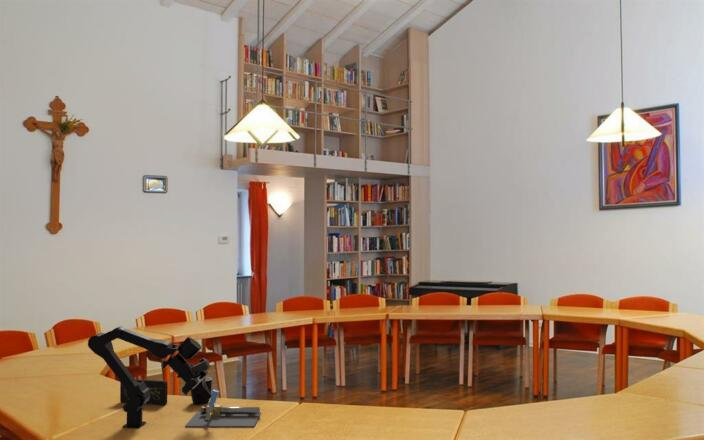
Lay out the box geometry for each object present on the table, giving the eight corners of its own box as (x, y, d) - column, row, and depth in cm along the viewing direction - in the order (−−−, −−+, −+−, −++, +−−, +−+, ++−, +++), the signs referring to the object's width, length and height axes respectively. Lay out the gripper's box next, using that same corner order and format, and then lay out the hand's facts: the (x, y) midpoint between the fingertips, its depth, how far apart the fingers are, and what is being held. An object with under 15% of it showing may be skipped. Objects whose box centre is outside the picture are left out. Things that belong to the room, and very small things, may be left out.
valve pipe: (195, 423, 235) (195, 412, 236) (202, 414, 247) (202, 404, 247) (255, 423, 236) (255, 412, 236) (260, 414, 247) (260, 404, 247)
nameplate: (167, 404, 264) (167, 380, 264) (165, 405, 262) (165, 381, 263) (122, 401, 268) (122, 378, 268) (120, 402, 266) (120, 379, 266)
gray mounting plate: (184, 427, 232) (184, 425, 232) (196, 413, 250) (196, 412, 250) (254, 427, 232) (254, 425, 232) (261, 413, 250) (261, 412, 250)
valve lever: (203, 421, 233) (212, 390, 234) (204, 419, 235) (214, 389, 235) (208, 422, 233) (218, 392, 234) (209, 421, 235) (219, 391, 235)
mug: (195, 399, 271) (195, 376, 272) (214, 400, 270) (214, 377, 270) (183, 407, 259) (184, 382, 260) (204, 408, 258) (204, 383, 258)
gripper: (191, 357, 226) (221, 388, 225) (203, 348, 244) (230, 376, 244) (169, 379, 225) (199, 410, 225) (182, 368, 244) (210, 396, 244)
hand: (210, 397), depth 235 cm, fingers closed, pressing on valve lever
